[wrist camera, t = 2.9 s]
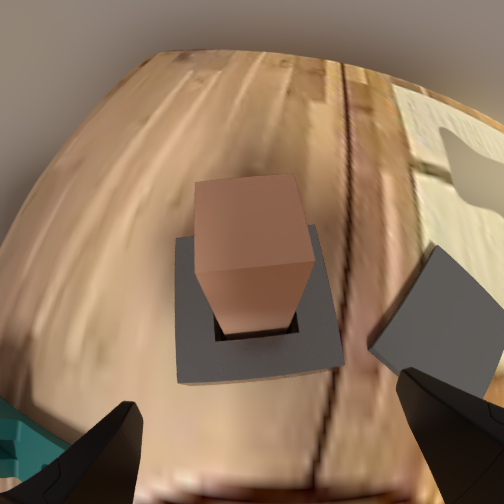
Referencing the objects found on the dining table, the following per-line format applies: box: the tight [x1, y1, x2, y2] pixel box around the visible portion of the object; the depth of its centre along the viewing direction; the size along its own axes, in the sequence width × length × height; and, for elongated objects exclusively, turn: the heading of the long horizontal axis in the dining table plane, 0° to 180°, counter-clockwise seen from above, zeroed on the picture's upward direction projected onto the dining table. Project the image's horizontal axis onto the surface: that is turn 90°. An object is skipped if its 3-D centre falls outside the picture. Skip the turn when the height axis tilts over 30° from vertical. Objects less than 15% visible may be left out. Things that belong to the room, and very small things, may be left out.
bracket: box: [0, 397, 71, 482], centre depth 12 cm, size 18×7×8 cm, turn 80°
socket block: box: [175, 225, 345, 386], centre depth 21 cm, size 11×11×4 cm
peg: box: [194, 173, 315, 341], centre depth 17 cm, size 4×4×13 cm
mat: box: [368, 245, 504, 399], centre depth 20 cm, size 13×13×1 cm
